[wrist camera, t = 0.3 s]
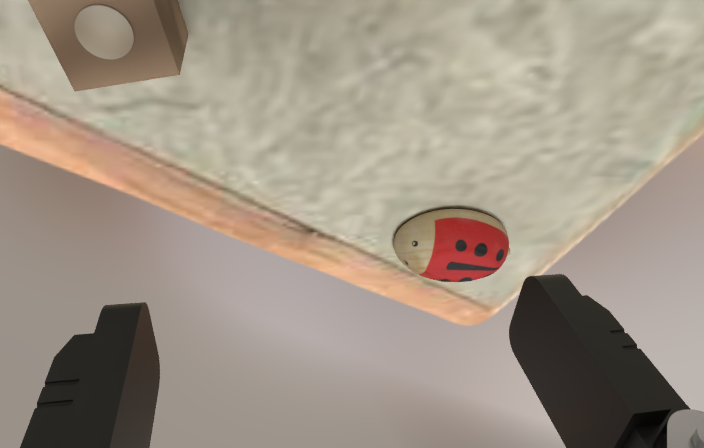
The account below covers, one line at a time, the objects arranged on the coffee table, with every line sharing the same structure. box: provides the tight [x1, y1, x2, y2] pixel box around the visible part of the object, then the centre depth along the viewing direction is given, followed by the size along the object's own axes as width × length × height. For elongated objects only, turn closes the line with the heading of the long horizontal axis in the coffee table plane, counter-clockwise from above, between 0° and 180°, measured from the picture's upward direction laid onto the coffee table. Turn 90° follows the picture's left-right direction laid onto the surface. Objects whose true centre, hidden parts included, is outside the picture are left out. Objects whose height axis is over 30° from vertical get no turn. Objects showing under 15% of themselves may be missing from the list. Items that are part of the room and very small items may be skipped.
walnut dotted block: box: [28, 0, 188, 91], centre depth 25 cm, size 5×5×5 cm
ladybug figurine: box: [394, 209, 510, 282], centre depth 41 cm, size 7×10×4 cm
